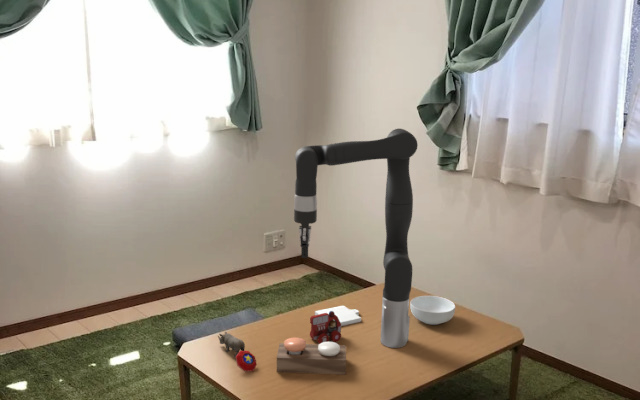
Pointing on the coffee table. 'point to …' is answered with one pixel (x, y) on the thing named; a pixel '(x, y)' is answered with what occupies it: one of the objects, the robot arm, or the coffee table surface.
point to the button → (246, 360)
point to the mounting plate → (343, 314)
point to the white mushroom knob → (328, 348)
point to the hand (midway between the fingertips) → (304, 257)
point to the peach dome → (295, 345)
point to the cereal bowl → (432, 309)
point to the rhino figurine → (232, 343)
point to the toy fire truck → (325, 327)
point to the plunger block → (311, 361)
